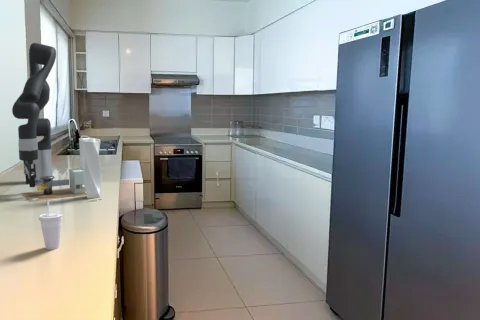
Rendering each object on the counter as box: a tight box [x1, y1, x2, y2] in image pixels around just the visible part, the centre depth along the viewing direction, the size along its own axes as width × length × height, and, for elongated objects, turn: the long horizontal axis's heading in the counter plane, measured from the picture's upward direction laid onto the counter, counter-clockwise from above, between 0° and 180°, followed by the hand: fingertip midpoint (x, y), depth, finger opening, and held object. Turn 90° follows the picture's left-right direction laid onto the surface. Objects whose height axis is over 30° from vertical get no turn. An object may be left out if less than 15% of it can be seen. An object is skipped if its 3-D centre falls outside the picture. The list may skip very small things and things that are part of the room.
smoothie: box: [38, 200, 64, 250], centre depth 127 cm, size 6×6×14 cm
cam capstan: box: [35, 175, 70, 194], centre depth 193 cm, size 16×14×7 cm
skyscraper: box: [80, 134, 103, 202], centre depth 189 cm, size 8×8×28 cm
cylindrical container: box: [78, 137, 91, 191], centre depth 206 cm, size 7×7×25 cm
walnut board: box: [21, 187, 87, 203], centre depth 196 cm, size 21×24×1 cm
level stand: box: [68, 168, 86, 194], centre depth 200 cm, size 10×4×10 cm, turn 35°
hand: (30, 185), depth 192 cm, fingers open, 8 cm apart
